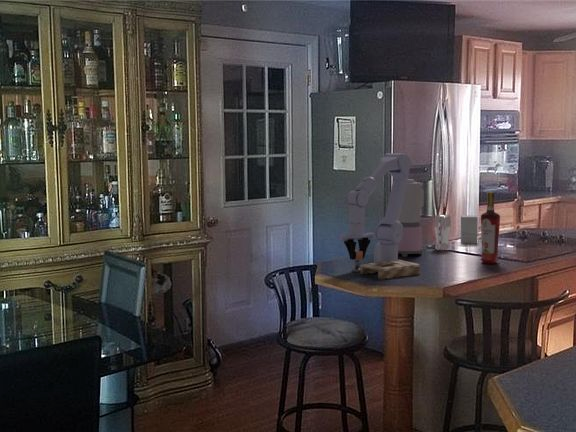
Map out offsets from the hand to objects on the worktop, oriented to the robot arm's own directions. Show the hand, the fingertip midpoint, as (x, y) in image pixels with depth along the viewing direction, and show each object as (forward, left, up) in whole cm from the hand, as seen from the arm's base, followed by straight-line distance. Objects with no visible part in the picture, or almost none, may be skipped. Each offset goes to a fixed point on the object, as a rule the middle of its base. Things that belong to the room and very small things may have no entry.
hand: (357, 258), depth 266 cm
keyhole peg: (0, 0, -5) cm, 5 cm away
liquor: (+15, +53, -5) cm, 55 cm away
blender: (-19, +41, -5) cm, 45 cm away
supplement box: (-29, +84, -5) cm, 89 cm away
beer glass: (-21, +60, -5) cm, 64 cm away
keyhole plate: (+11, +7, -5) cm, 14 cm away
